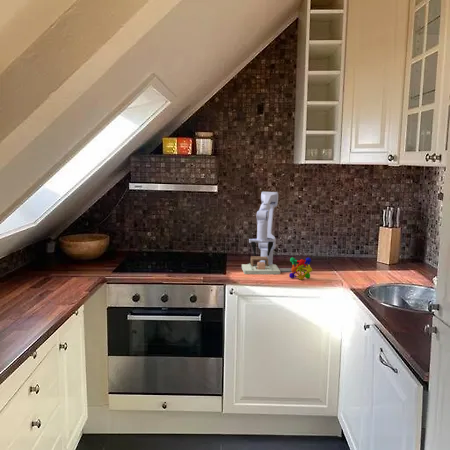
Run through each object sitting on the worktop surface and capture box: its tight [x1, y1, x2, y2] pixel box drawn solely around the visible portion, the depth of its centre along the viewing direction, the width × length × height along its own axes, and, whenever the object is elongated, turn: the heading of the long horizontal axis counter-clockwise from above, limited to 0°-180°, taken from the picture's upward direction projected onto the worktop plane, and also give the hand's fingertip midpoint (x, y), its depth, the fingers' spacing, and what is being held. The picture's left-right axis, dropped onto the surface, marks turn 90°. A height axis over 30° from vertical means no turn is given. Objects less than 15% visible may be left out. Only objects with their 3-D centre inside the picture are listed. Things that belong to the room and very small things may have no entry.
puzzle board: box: [241, 262, 281, 275], centre depth 273 cm, size 16×20×3 cm
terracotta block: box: [256, 261, 265, 270], centre depth 271 cm, size 4×4×5 cm
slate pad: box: [278, 267, 292, 273], centre depth 275 cm, size 7×7×1 cm
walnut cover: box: [249, 255, 268, 266], centre depth 278 cm, size 7×9×4 cm
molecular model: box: [289, 256, 313, 281], centre depth 256 cm, size 12×7×12 cm, turn 92°
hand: (261, 255), depth 270 cm, fingers open, 7 cm apart
